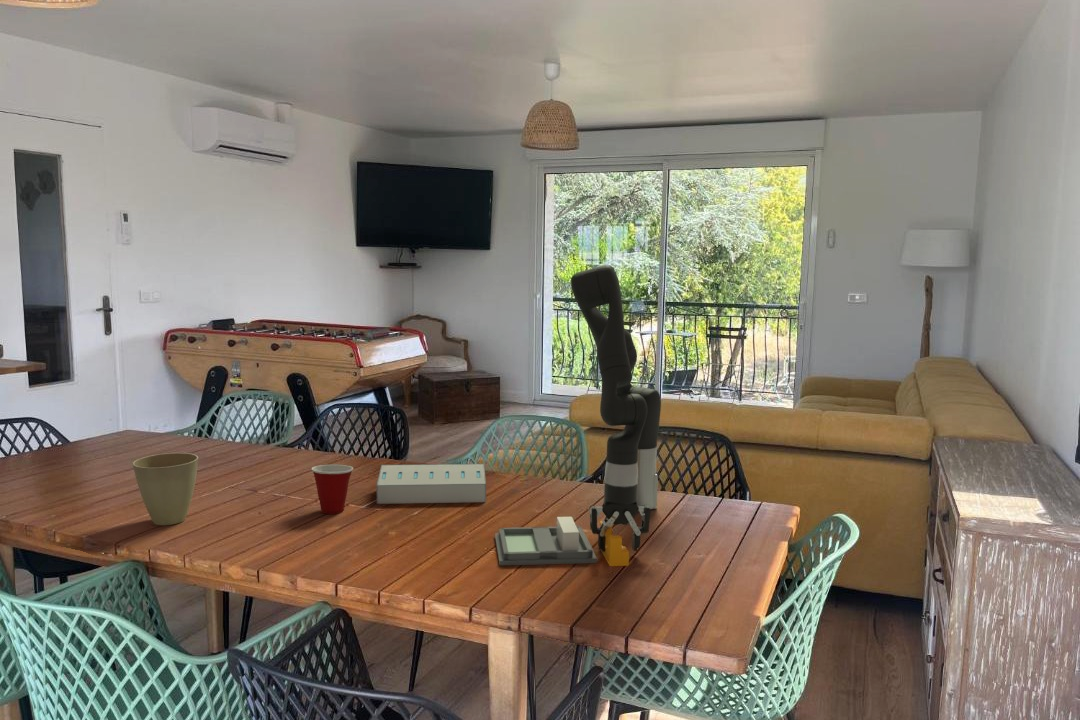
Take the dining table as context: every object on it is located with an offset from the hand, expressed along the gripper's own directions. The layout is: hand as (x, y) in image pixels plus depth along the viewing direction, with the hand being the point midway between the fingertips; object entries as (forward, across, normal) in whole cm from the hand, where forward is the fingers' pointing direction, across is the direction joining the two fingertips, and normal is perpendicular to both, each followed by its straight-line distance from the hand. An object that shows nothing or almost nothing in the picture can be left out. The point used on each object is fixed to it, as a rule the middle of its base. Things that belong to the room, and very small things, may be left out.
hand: (618, 550), depth 181 cm
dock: (+1, +17, -5) cm, 17 cm away
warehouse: (+2, +44, -49) cm, 66 cm away
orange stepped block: (+2, +1, 0) cm, 2 cm away
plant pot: (+2, +110, -31) cm, 114 cm away
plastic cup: (+2, +70, -37) cm, 79 cm away
